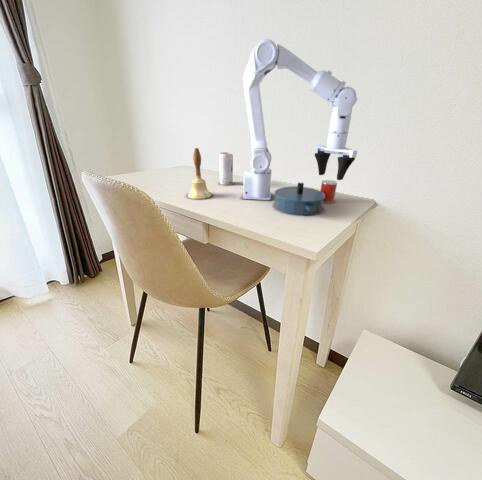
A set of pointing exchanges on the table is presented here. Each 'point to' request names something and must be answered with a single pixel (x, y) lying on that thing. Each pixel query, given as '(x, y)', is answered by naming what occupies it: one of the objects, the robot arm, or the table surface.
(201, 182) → the hand bell
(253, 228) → the table surface
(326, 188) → the tin can
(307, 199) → the lid
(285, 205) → the pot
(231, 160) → the energy drink
